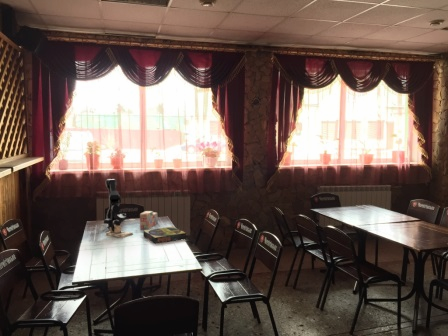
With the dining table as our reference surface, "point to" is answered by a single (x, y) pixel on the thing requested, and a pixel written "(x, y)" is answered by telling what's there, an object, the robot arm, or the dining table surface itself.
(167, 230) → the board game box
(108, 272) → the dining table surface
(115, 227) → the block
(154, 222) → the stack of blocks
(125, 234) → the board
